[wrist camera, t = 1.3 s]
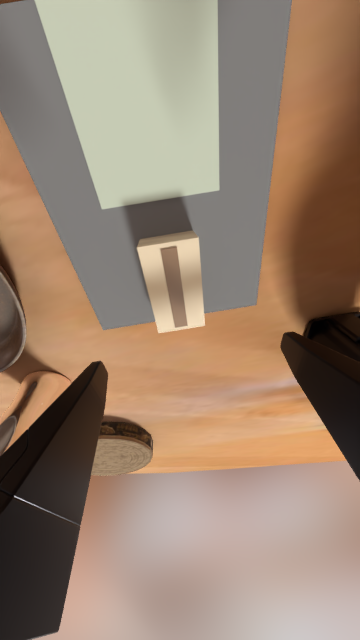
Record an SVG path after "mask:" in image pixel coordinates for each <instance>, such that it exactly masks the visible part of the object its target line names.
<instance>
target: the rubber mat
mask: <svg viewBox="0 0 360 640" xmlns="http://www.w3.org/2000/svg"><path fill="white" fill-rule="evenodd" d="M291 3H292V0H24V1H17V2H11V3H5V4H0V111H1V113H2V115H3V118H4V120H5V122H6V124H7V126H8V128H9V130H10V132H11V135H12V137H13V139H14V141H15V143H16V145H17V147H18V149H19V152H20V154H21V156H22V158H23V160H24V162H25V164H26V167H27V169H28V171H29V173H30V175H31V177H32V179H33V181H34V184H35V186H36V188H37V190H38V192H39V194H40V196H41V199H42V201H43V203H44V205H45V207H46V209H47V211H48V213H49V216H50V218H51V220H52V222H53V224H54V226H55V228H56V231H57V233H58V235H59V237H60V239H61V241H62V243H63V245H64V248H65V250H66V252H67V254H68V256H69V258H70V260H71V262H72V265H73V267H74V269H75V271H76V273H77V275H78V277H79V280H80V282H81V284H82V286H83V288H84V290H85V292H86V294H87V297H88V299H89V301H90V303H91V305H92V307H93V309H94V312H95V314H96V316H97V318H98V320H99V322H100V324H101V326H102V329H103V330H107V329H113V328H119V327H125V326H131V325H137V324H143V323H149V322H155V317H154V313H153V309H152V305H151V301H150V297H149V293H148V289H147V286H146V282H145V278H144V274H143V270H142V266H141V262H140V258H139V254H138V250H137V246H138V243H139V240H140V239H144V238H150V237H156V236H162V235H168V234H174V233H180V232H186V231H194V232H195V234H196V235H197V236H198V237H199V248H200V263H201V277H202V291H203V305H204V313H210V312H216V311H222V310H229V309H235V308H241V307H247V306H253V305H256V303H257V294H258V286H259V277H260V269H261V260H262V252H263V243H264V234H265V226H266V217H267V209H268V200H269V192H270V183H271V175H272V166H273V157H274V149H275V140H276V132H277V123H278V115H279V106H280V98H281V89H282V80H283V72H284V63H285V55H286V46H287V38H288V29H289V21H290V12H291Z"/></svg>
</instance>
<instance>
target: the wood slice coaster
mask: <svg viewBox="0 0 360 640" xmlns="http://www.w3.org/2000/svg"><path fill="white" fill-rule="evenodd" d="M152 456H153V440H152V437H151V434H149V433H148V432H147V431H146V430H145V429H143V428H140V427H138V426H136V425H132V424H127V423H122V422H102V424H101V429H100V433H99V438H98V443H97V448H96V453H95V458H94V462H93V467H92V472H91V475H99V476H107V475H119V474H126V473H129V472H133V471H136V470H139V469H141V468H143V467H145V466H146V465H147V464H148V463H149V462H151V459H152Z"/></svg>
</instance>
